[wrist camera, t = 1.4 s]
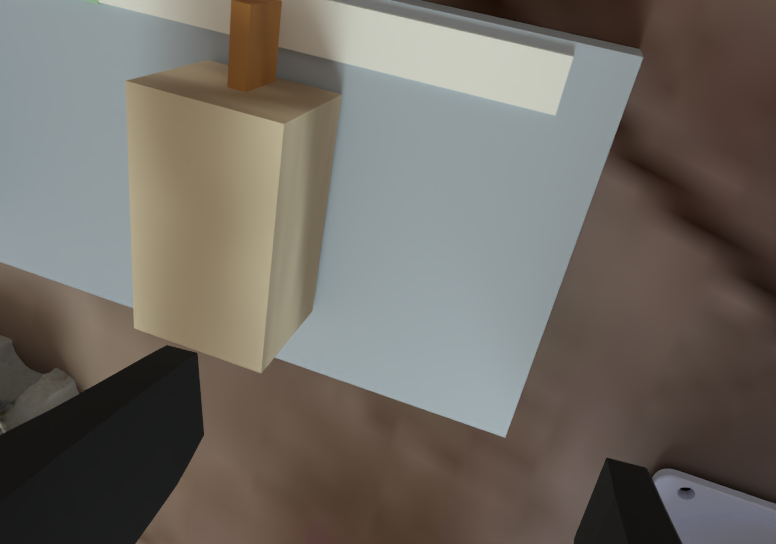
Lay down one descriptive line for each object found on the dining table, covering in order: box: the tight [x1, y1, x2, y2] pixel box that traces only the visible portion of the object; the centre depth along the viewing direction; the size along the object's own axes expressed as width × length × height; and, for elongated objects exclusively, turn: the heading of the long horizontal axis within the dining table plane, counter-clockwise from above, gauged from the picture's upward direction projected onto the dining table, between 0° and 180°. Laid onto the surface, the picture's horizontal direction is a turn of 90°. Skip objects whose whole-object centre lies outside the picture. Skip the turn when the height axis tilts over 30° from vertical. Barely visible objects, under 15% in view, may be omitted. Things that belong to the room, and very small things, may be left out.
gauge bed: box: [0, 0, 643, 437], centre depth 17 cm, size 23×12×7 cm, turn 79°
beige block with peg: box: [125, 0, 342, 373], centre depth 17 cm, size 4×9×4 cm, turn 169°
